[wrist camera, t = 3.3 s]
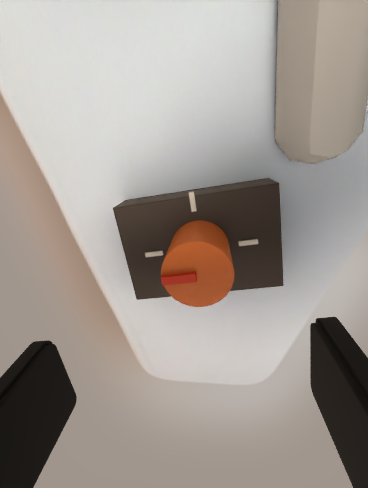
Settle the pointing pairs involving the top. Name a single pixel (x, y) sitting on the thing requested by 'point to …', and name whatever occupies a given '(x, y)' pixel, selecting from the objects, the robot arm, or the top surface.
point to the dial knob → (198, 265)
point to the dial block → (212, 210)
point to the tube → (320, 77)
